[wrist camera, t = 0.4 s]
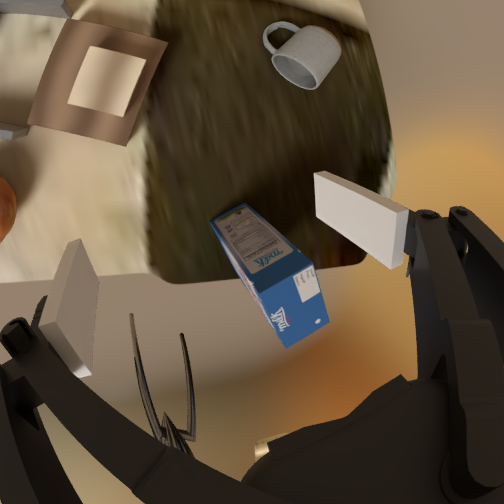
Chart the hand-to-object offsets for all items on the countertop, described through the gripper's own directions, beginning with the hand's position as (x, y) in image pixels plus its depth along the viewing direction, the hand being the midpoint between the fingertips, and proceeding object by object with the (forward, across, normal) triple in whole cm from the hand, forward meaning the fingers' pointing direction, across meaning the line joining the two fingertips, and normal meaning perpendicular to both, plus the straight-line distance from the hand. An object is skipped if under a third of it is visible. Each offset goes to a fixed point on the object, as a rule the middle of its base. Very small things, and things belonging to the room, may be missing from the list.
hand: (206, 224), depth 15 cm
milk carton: (+28, +8, -16) cm, 34 cm away
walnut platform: (+28, -7, +12) cm, 31 cm away
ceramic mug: (+28, +21, +12) cm, 37 cm away
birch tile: (+24, -5, +11) cm, 27 cm away
